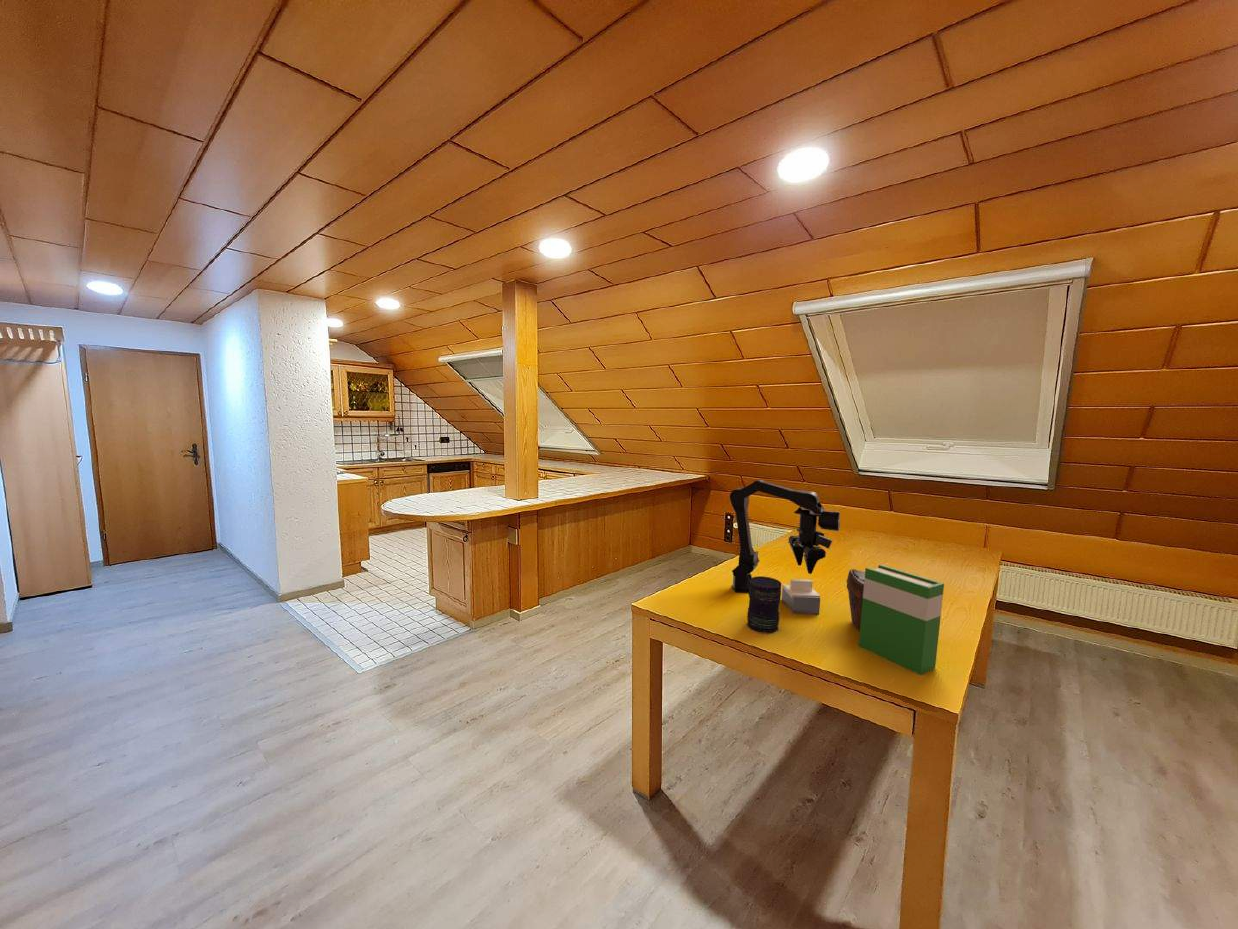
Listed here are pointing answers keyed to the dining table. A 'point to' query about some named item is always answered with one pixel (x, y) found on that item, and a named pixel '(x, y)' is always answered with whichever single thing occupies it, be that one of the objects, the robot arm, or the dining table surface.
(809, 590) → the lid
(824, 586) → the dining table surface
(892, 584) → the hardback book
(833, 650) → the dining table surface
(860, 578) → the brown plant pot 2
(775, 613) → the storage jar
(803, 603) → the grey open box
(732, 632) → the dining table surface
